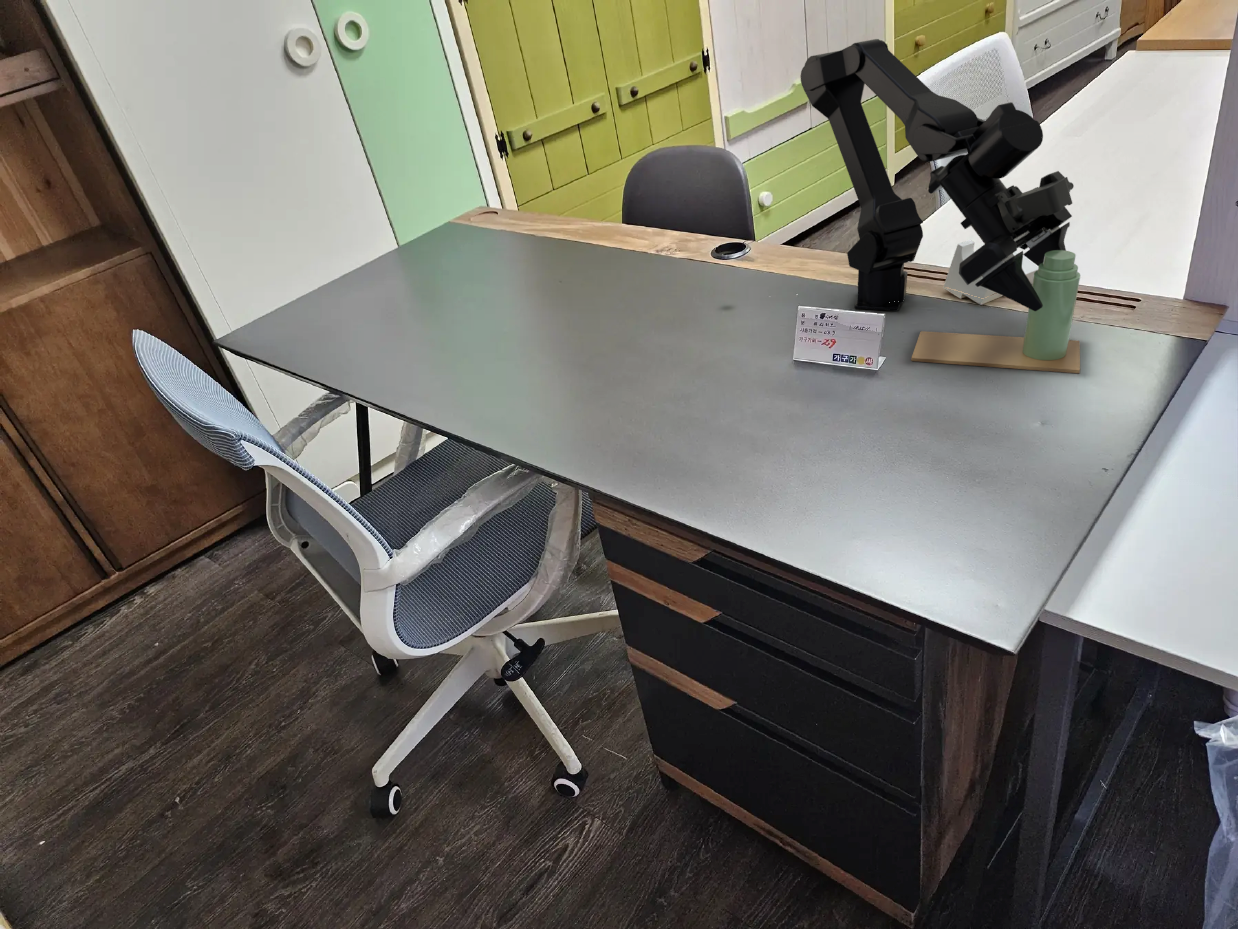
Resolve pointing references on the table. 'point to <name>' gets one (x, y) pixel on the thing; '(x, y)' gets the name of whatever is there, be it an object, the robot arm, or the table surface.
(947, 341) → the cork pad
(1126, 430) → the table surface
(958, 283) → the bracket
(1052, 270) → the bottle
